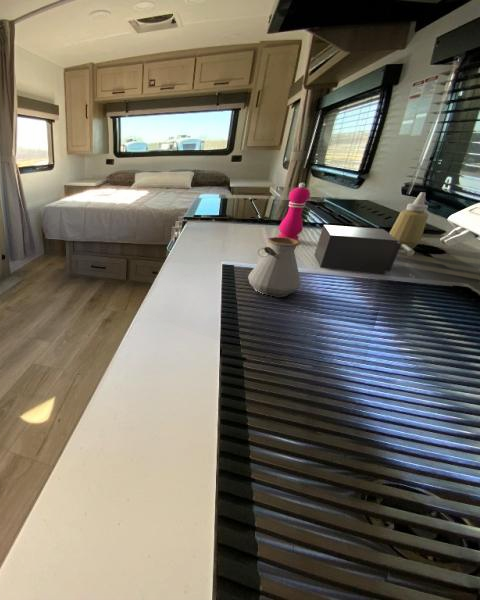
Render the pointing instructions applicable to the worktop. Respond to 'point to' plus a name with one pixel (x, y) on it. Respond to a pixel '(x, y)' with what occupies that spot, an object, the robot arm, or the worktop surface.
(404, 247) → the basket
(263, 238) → the worktop surface
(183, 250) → the worktop surface
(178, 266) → the worktop surface
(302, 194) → the pepper mill
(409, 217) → the squeeze bottle
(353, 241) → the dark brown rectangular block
